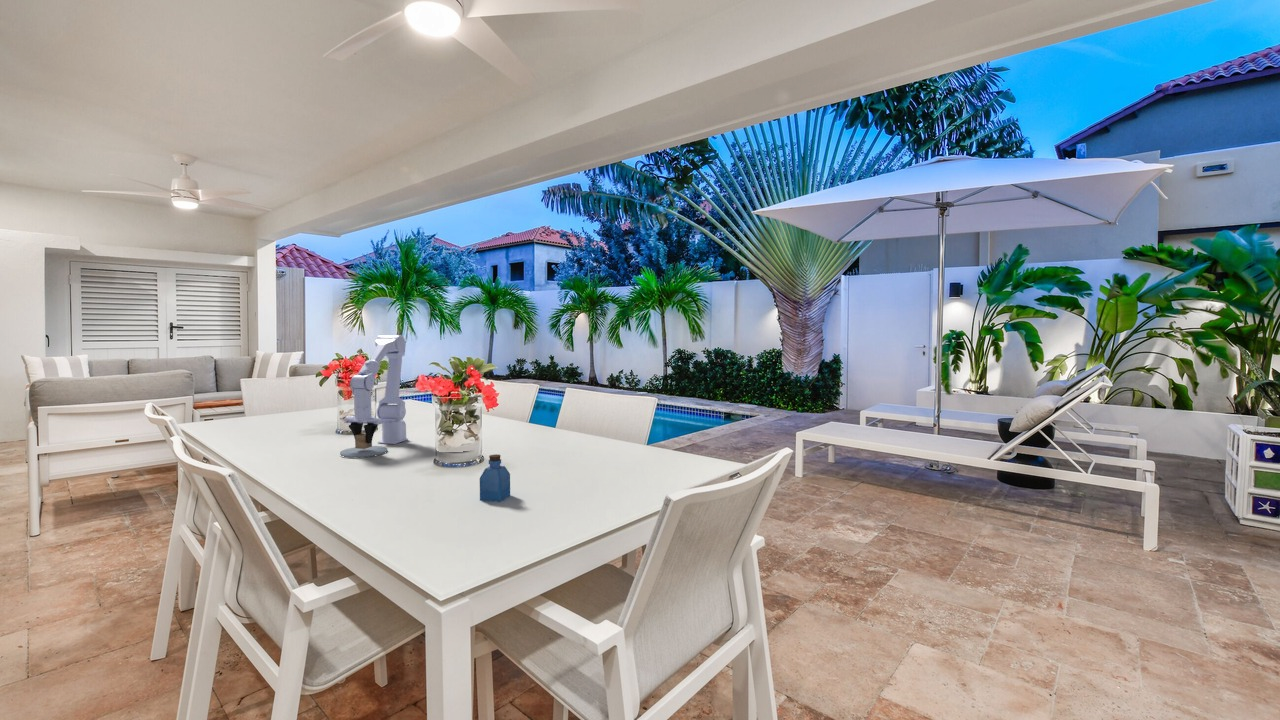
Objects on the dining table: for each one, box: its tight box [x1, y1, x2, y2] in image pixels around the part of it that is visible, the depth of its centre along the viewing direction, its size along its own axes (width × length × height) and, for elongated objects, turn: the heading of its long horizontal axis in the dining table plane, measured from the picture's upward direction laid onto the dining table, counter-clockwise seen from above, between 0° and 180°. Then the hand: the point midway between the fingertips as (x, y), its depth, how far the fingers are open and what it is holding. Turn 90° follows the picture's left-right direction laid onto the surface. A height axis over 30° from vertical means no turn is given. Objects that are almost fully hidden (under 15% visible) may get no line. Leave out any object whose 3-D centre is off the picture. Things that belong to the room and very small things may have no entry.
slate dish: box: [339, 445, 388, 458], centre depth 211 cm, size 16×16×1 cm
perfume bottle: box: [479, 453, 511, 503], centre depth 157 cm, size 6×6×12 cm
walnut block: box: [354, 432, 373, 449], centre depth 210 cm, size 4×4×5 cm
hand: (363, 442), depth 211 cm, fingers closed on walnut block, 4 cm apart
